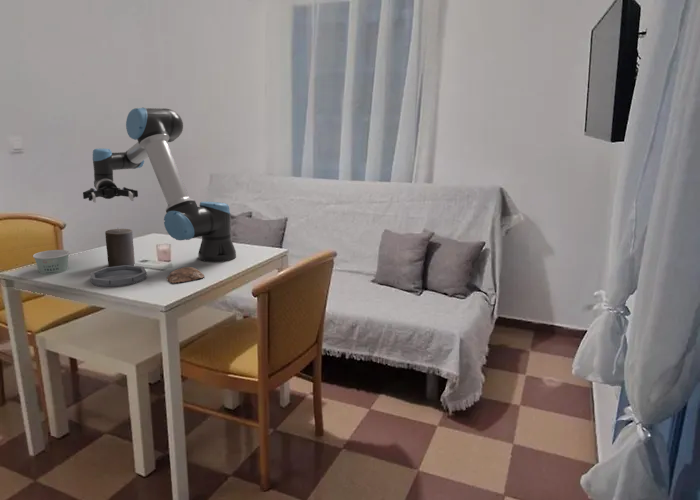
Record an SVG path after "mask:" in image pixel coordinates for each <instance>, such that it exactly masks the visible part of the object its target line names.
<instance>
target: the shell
mask: <svg viewBox="0 0 700 500" xmlns="http://www.w3.org/2000/svg"><path fill="white" fill-rule="evenodd" d="M203 278H204V279H205V275H204V273H203V272H202V271H200V270H199V269H197V268H196V267H191V266H185V267H180V268H177V269H175V270H173V271H171V272H169V274H168V275H167V277H166V280H167V282H168V283H170V284H173V285H174V284H184V283H185V284H186V283H190V282H194V281H200V280H203Z"/></svg>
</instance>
